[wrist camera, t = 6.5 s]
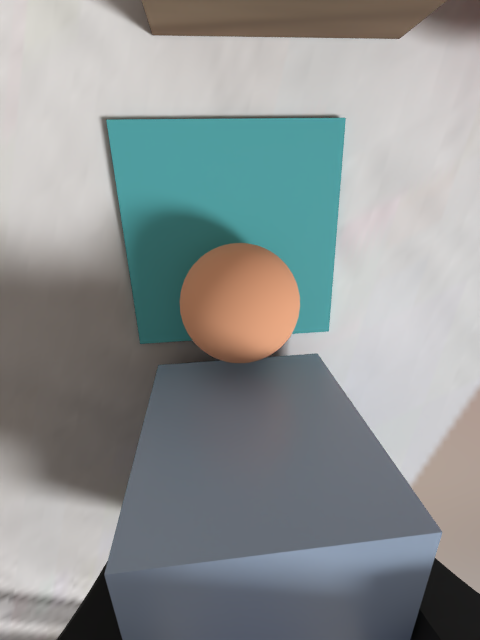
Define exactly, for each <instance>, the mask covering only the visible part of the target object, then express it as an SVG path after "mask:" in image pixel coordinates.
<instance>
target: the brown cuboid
mask: <svg viewBox="0 0 480 640" xmlns="http://www.w3.org/2000/svg"><path fill="white" fill-rule="evenodd" d="M141 1H142V4H143V7H144V10H145V13H146V16H147V19H148V22H149V26H150V29H151V32H152V35H174V36H243V37H312V38H381V39H400V38H401V37H402V36H403V35H405V34H406V33H407V32H408V31H410V30H411V29H412V28H414V27H415V26H416V25H417V24H419V23H420V22H421V21H422V20H424V19H425V18H426V17H427V16H429V15H430V14H431V13H432V12H434V11H435V10H436V9H437V8H439V7H440V6H441V5H443V4H444V3H445V2H446V1H447V0H141Z"/></svg>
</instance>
